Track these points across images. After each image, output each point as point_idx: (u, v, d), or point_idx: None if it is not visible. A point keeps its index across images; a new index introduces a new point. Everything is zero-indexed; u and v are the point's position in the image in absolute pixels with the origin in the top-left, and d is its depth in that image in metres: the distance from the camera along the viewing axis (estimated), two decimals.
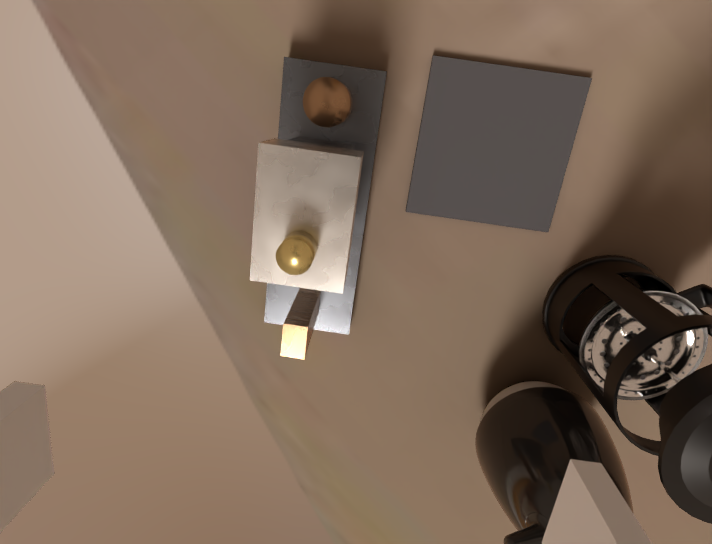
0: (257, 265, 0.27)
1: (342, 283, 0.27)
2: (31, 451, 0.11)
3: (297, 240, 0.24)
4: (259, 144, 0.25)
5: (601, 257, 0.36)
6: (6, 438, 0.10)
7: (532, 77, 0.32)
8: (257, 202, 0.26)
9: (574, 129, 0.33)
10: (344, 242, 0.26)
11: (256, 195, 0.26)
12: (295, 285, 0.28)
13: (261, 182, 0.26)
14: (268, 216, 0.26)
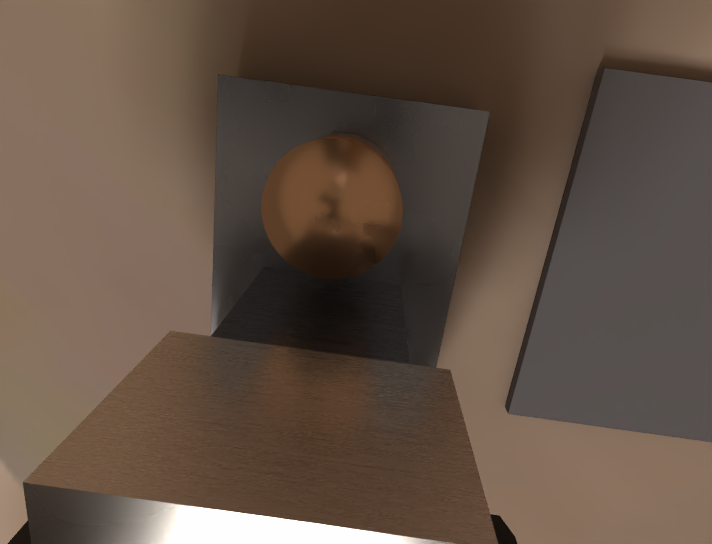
0: None
1: None
2: None
3: None
4: (29, 489, 0.05)
5: None
6: None
7: None
8: None
9: None
10: None
11: None
12: None
13: None
14: None
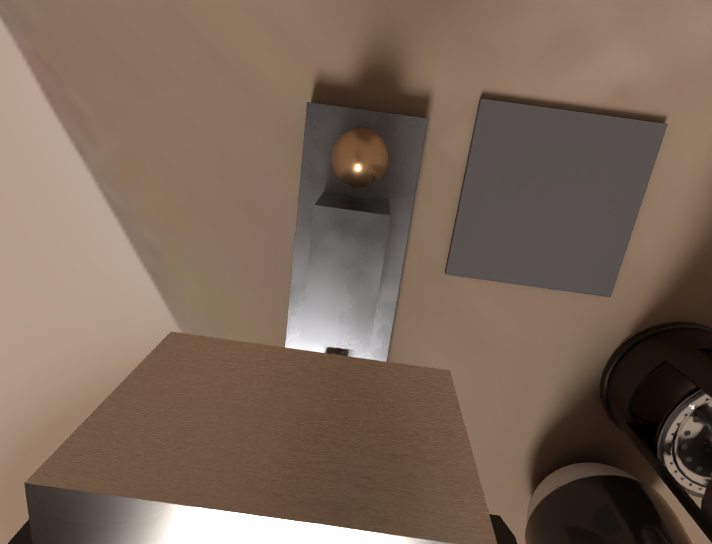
0: None
1: None
2: None
3: None
4: (30, 490, 0.05)
5: (671, 324, 0.31)
6: None
7: (597, 123, 0.27)
8: None
9: (645, 182, 0.28)
10: None
11: None
12: None
13: None
14: None
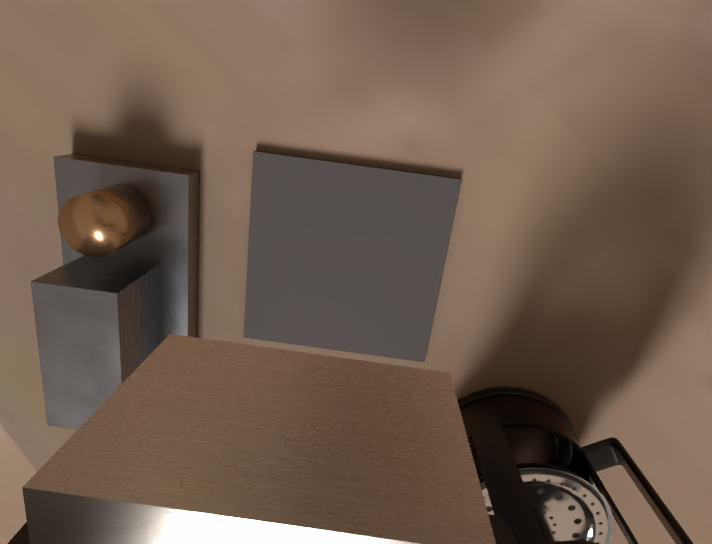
0: None
1: None
2: None
3: None
4: (28, 494, 0.05)
5: (493, 391, 0.28)
6: None
7: (384, 178, 0.24)
8: None
9: (445, 242, 0.25)
10: None
11: None
12: None
13: None
14: None
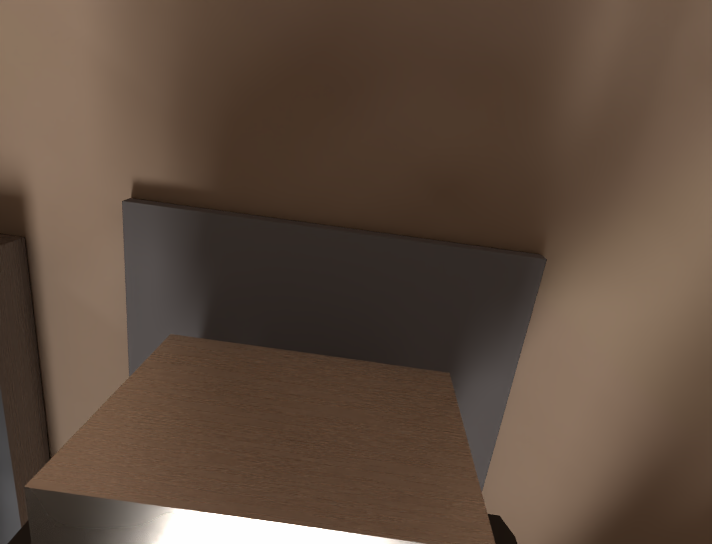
0: None
1: None
2: None
3: None
4: (30, 493, 0.05)
5: None
6: None
7: (389, 256, 0.12)
8: None
9: (508, 374, 0.13)
10: None
11: None
12: None
13: None
14: None
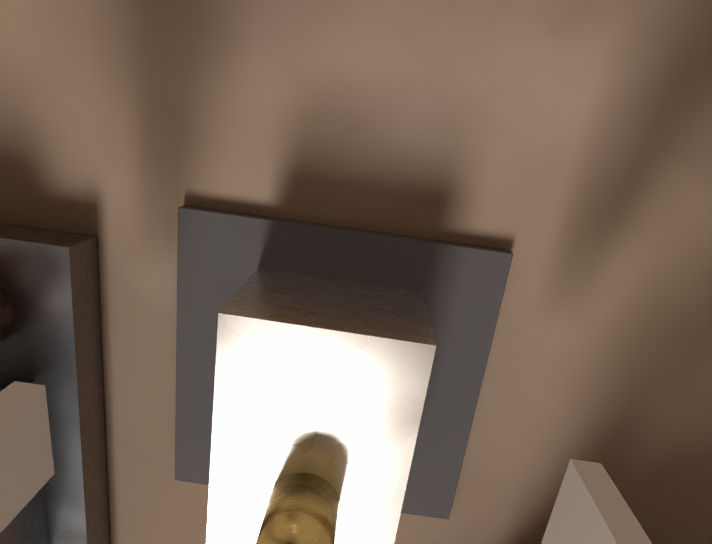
0: (219, 527, 0.14)
1: None
2: (31, 451, 0.11)
3: (300, 534, 0.11)
4: (220, 316, 0.12)
5: None
6: (6, 438, 0.10)
7: (388, 251, 0.15)
8: (218, 422, 0.13)
9: (484, 348, 0.16)
10: (393, 495, 0.13)
11: (215, 409, 0.13)
12: None
13: (225, 386, 0.12)
14: (241, 447, 0.13)
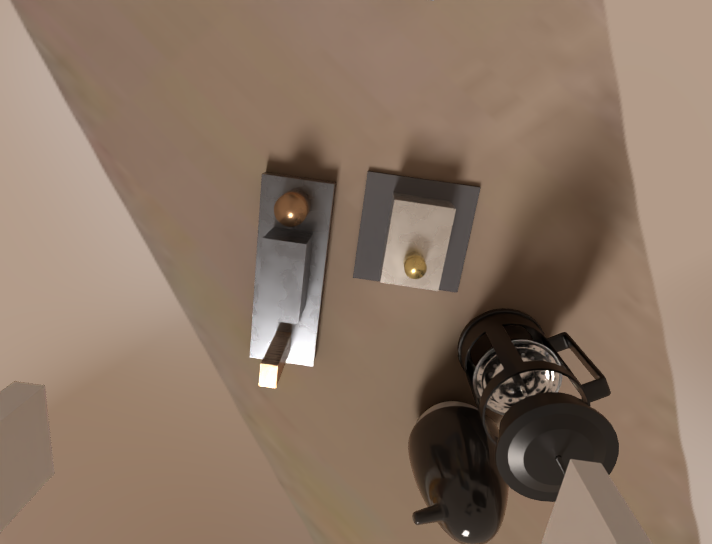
0: (386, 272, 0.44)
1: (438, 284, 0.44)
2: (31, 451, 0.11)
3: (418, 258, 0.41)
4: (395, 200, 0.42)
5: (497, 310, 0.49)
6: (6, 438, 0.10)
7: (438, 186, 0.45)
8: (390, 234, 0.43)
9: (471, 221, 0.46)
10: (441, 259, 0.43)
11: (390, 230, 0.42)
12: (408, 285, 0.44)
13: (393, 222, 0.42)
14: (396, 243, 0.43)
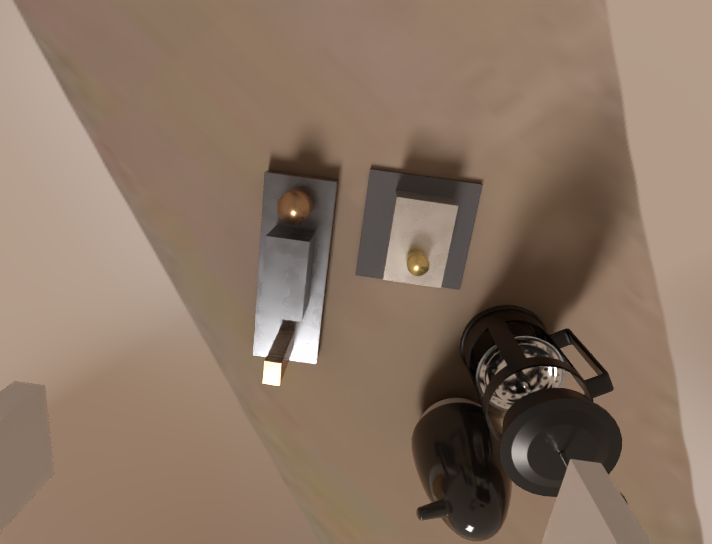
0: (388, 270, 0.44)
1: (441, 281, 0.44)
2: (31, 451, 0.11)
3: (421, 255, 0.41)
4: (397, 198, 0.42)
5: (499, 307, 0.49)
6: (6, 438, 0.10)
7: (440, 184, 0.45)
8: (392, 232, 0.43)
9: (473, 219, 0.46)
10: (444, 256, 0.43)
11: (392, 227, 0.43)
12: (411, 282, 0.44)
13: (396, 220, 0.42)
14: (398, 240, 0.43)
